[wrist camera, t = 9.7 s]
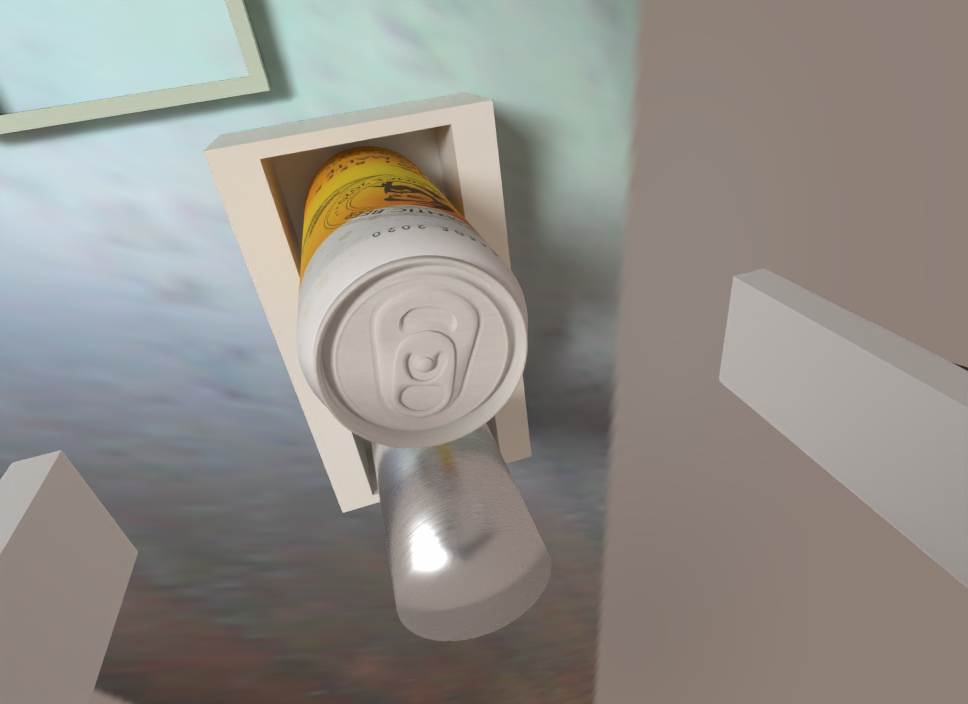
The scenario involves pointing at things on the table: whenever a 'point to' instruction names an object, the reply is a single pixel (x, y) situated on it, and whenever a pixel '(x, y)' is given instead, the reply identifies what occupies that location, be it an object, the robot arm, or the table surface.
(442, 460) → the shiny metal cylinder
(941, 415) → the robot arm
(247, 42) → the empty picture frame
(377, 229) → the beer can
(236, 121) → the table surface
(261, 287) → the dock
